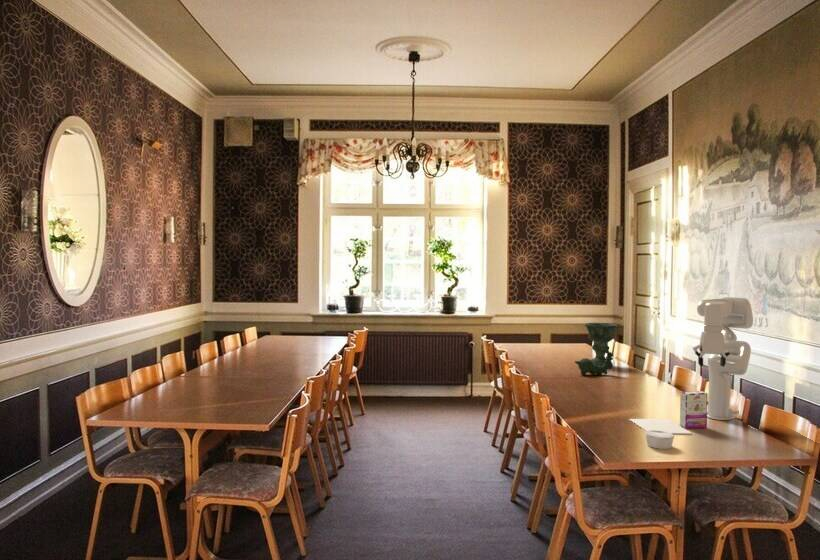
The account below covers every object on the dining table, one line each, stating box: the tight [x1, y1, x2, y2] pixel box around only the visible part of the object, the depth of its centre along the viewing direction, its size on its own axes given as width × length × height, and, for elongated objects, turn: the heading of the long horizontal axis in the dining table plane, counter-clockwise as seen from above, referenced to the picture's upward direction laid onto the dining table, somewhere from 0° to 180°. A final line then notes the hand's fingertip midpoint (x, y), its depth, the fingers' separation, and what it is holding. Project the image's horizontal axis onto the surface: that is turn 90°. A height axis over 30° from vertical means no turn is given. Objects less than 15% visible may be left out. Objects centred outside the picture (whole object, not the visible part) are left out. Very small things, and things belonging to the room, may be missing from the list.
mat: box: [628, 418, 693, 435], centre depth 296 cm, size 19×24×1 cm
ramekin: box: [645, 430, 675, 450], centre depth 266 cm, size 11×11×5 cm
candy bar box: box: [679, 390, 708, 430], centre depth 296 cm, size 11×5×16 cm, turn 101°
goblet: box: [584, 322, 619, 368], centre depth 457 cm, size 22×23×30 cm
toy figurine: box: [574, 349, 614, 377], centre depth 422 cm, size 9×19×25 cm
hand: (711, 365), depth 298 cm, fingers open, 9 cm apart
